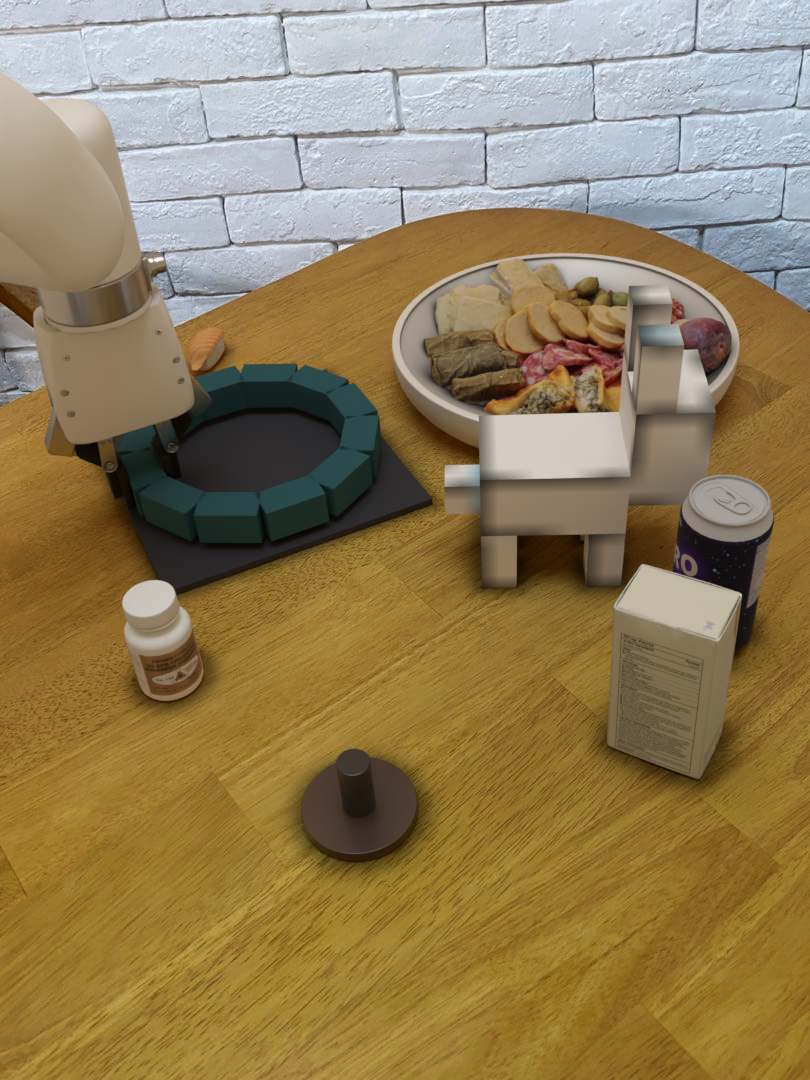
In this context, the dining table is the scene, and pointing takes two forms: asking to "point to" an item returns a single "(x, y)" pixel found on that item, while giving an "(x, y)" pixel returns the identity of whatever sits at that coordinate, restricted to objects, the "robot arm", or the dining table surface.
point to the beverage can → (726, 540)
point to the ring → (281, 504)
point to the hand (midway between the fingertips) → (148, 491)
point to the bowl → (542, 338)
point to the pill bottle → (161, 641)
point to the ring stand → (359, 807)
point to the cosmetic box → (671, 668)
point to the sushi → (206, 349)
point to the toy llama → (593, 455)
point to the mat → (258, 464)
